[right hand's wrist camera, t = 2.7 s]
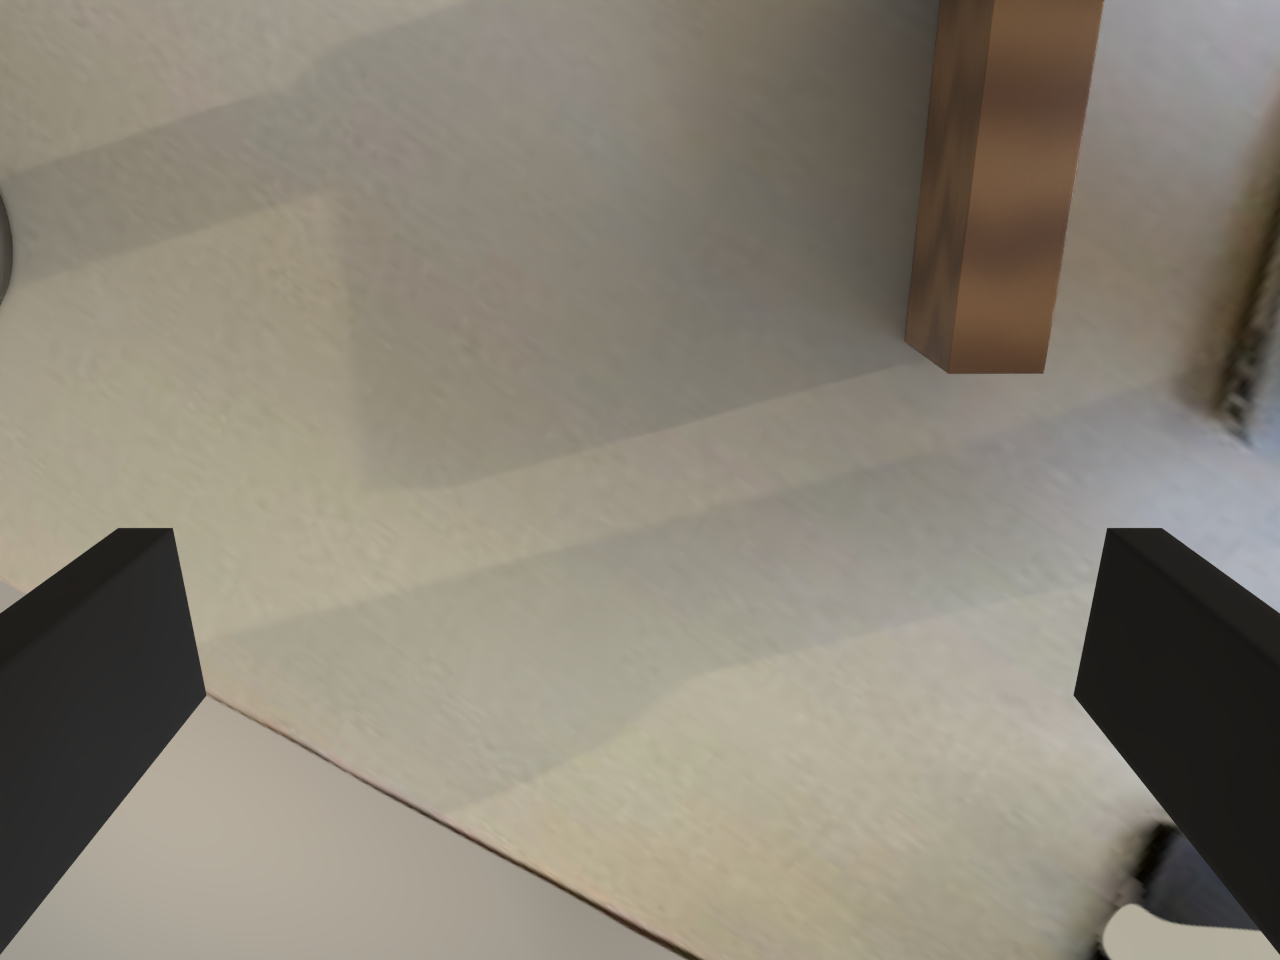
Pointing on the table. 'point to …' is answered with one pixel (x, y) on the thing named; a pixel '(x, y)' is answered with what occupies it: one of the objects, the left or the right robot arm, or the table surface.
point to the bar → (999, 180)
